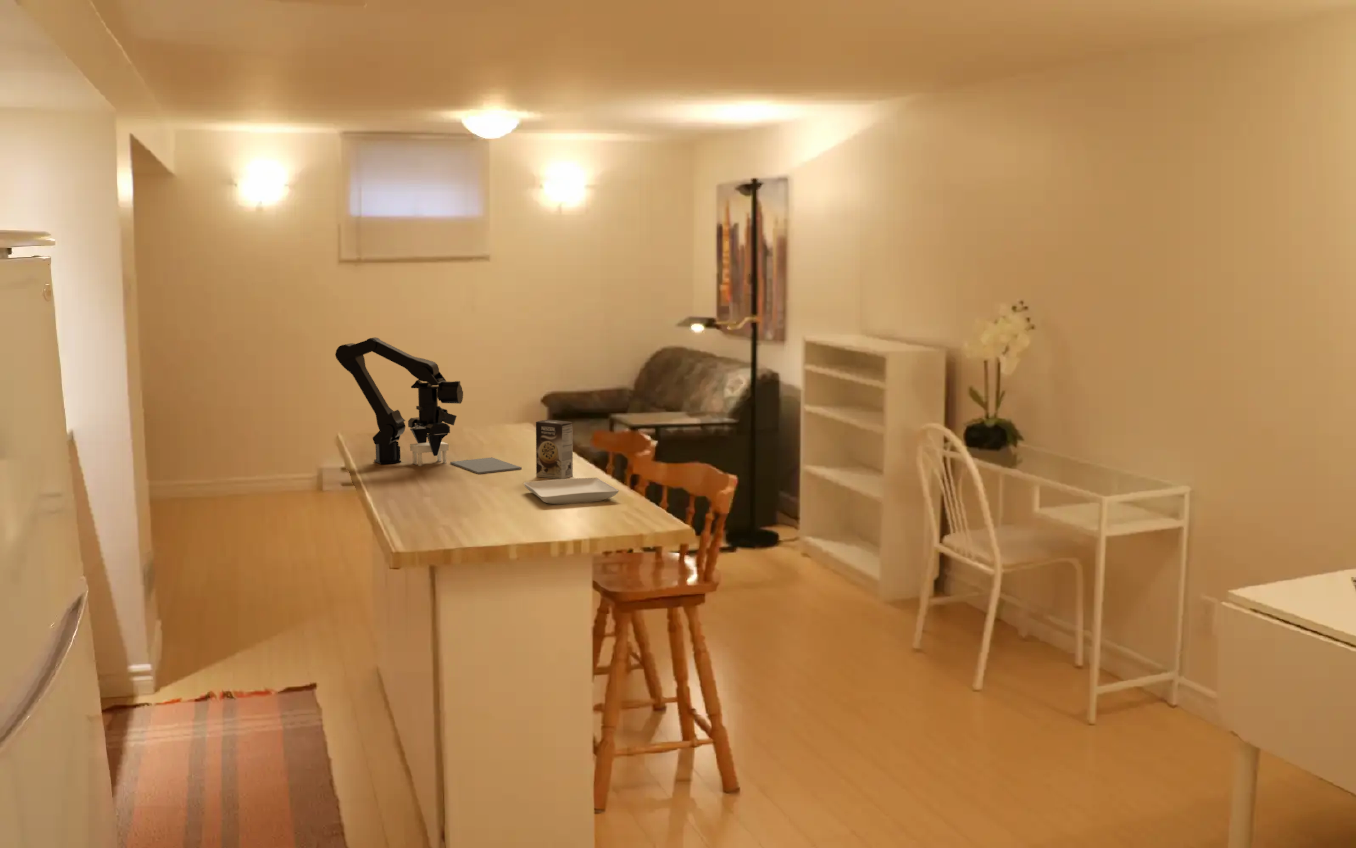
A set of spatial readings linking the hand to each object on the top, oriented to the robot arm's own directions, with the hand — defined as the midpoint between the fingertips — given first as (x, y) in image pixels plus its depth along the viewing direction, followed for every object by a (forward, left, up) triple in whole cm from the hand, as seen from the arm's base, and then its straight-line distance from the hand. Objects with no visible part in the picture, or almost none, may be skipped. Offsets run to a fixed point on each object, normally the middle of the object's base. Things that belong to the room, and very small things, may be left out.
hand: (429, 453), depth 365 cm
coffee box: (+22, -39, -3) cm, 45 cm away
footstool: (0, 0, -3) cm, 3 cm away
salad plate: (+12, -66, -4) cm, 67 cm away
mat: (+12, -14, -3) cm, 19 cm away
